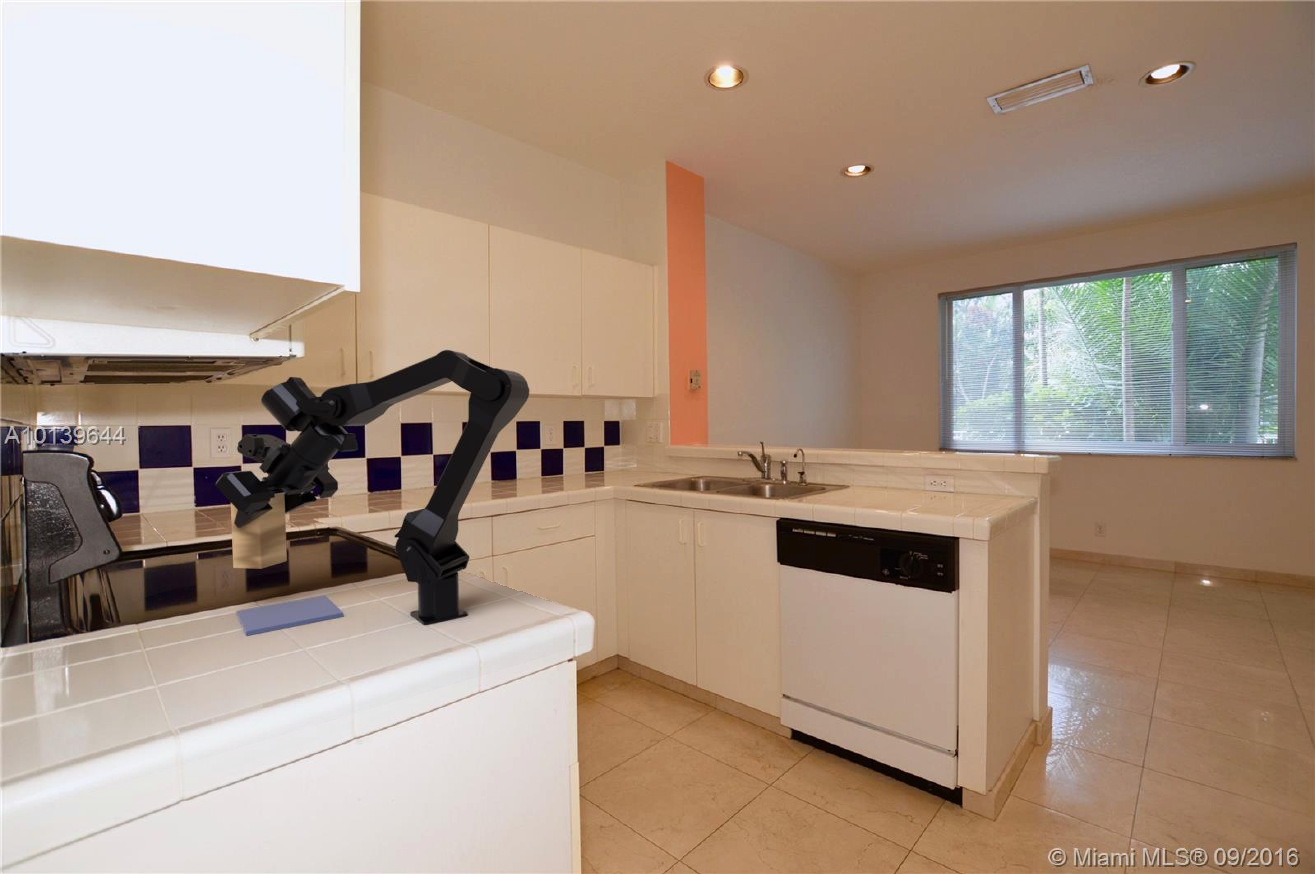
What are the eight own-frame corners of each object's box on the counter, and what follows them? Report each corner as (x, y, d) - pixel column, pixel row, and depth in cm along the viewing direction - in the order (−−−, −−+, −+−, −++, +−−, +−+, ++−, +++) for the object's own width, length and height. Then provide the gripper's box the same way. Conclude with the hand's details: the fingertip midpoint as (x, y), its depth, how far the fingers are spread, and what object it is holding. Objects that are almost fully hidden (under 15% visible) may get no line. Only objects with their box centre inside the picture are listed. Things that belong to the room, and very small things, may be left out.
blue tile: (343, 616, 89) (343, 612, 89) (246, 635, 82) (246, 631, 82) (325, 598, 98) (325, 595, 98) (236, 614, 91) (236, 610, 91)
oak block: (286, 561, 97) (284, 487, 97) (261, 568, 92) (258, 490, 92) (260, 560, 98) (257, 487, 97) (233, 567, 93) (230, 490, 92)
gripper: (320, 416, 103) (266, 481, 105) (224, 416, 84) (161, 494, 87) (363, 462, 102) (308, 526, 104) (275, 471, 83) (210, 549, 85)
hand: (251, 522), depth 95 cm, fingers closed on oak block, 5 cm apart
